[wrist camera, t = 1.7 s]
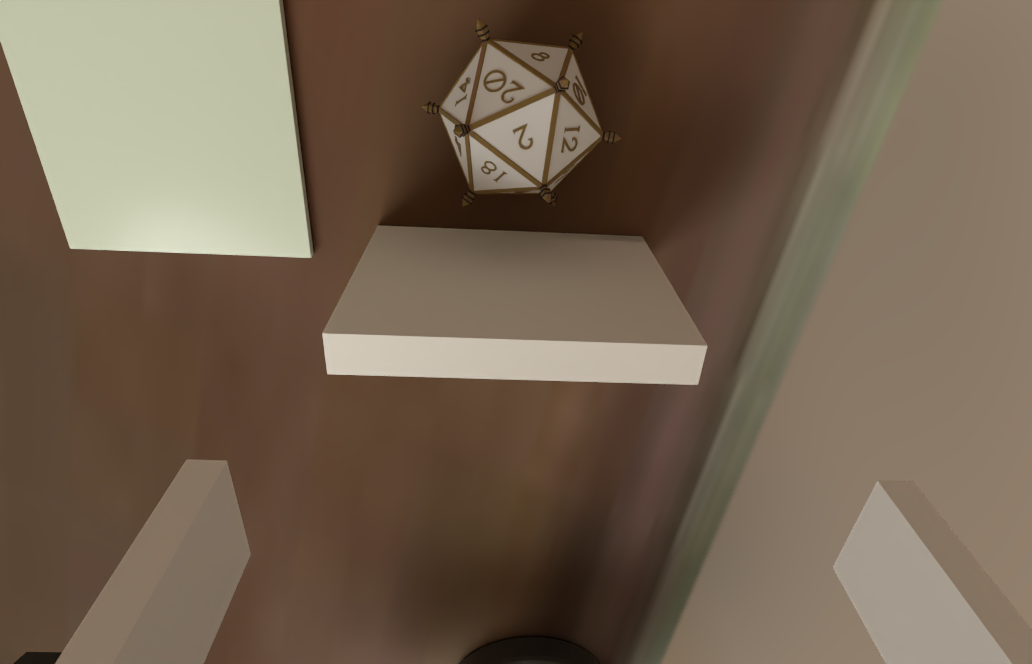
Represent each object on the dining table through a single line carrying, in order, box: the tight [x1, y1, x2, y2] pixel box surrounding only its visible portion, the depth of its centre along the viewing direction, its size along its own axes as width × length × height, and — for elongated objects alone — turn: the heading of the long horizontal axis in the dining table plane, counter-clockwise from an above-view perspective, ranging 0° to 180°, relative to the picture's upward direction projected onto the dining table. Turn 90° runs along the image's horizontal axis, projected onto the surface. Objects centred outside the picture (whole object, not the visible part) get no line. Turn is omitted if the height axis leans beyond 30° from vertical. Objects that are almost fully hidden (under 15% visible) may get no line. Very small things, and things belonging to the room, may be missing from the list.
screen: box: [322, 225, 707, 385], centre depth 32 cm, size 6×16×13 cm, turn 87°
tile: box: [0, 0, 314, 258], centre depth 32 cm, size 14×14×1 cm
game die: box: [422, 19, 622, 207], centre depth 29 cm, size 9×8×10 cm
